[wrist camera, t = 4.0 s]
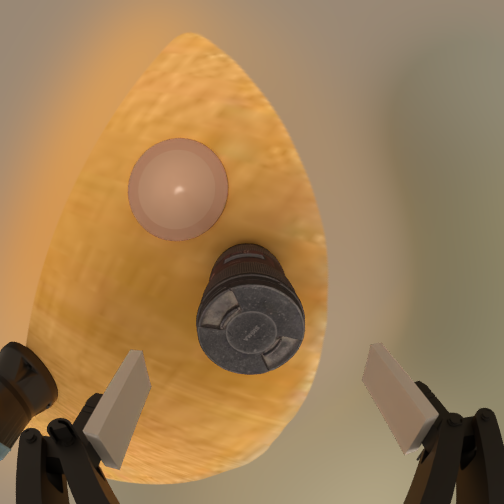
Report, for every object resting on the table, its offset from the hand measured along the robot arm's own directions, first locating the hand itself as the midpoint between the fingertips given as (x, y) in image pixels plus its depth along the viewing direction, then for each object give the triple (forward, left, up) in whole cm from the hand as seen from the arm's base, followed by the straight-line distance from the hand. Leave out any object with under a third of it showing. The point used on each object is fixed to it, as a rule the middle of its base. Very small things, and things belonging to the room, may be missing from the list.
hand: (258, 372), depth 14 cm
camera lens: (0, 0, -20) cm, 20 cm away
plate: (-8, +10, -19) cm, 23 cm away
